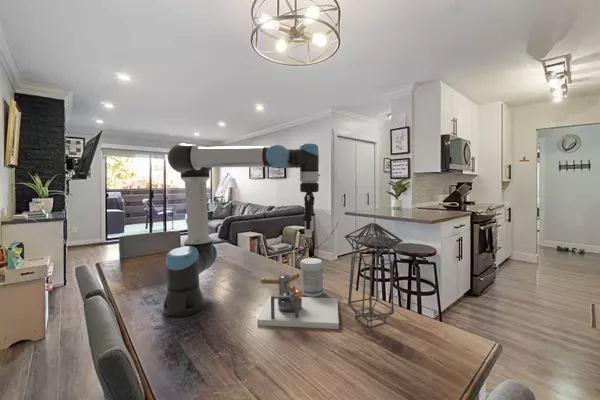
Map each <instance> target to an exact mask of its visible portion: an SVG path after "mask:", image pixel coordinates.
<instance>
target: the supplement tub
mask: <svg viewBox="0 0 600 400" xmlns="http://www.w3.org/2000/svg"><path fill="white" fill-rule="evenodd" d="M323 279H324V278H323V260H322V259H320V258H314V257H309V258H303V259H301V260H300V291H301V292H302V296H303V297H313V298H318V297H319V296H320V297H321V295H322V294H323V292H324V289H323V287H324V286H323V283H324V282H323Z"/></svg>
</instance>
